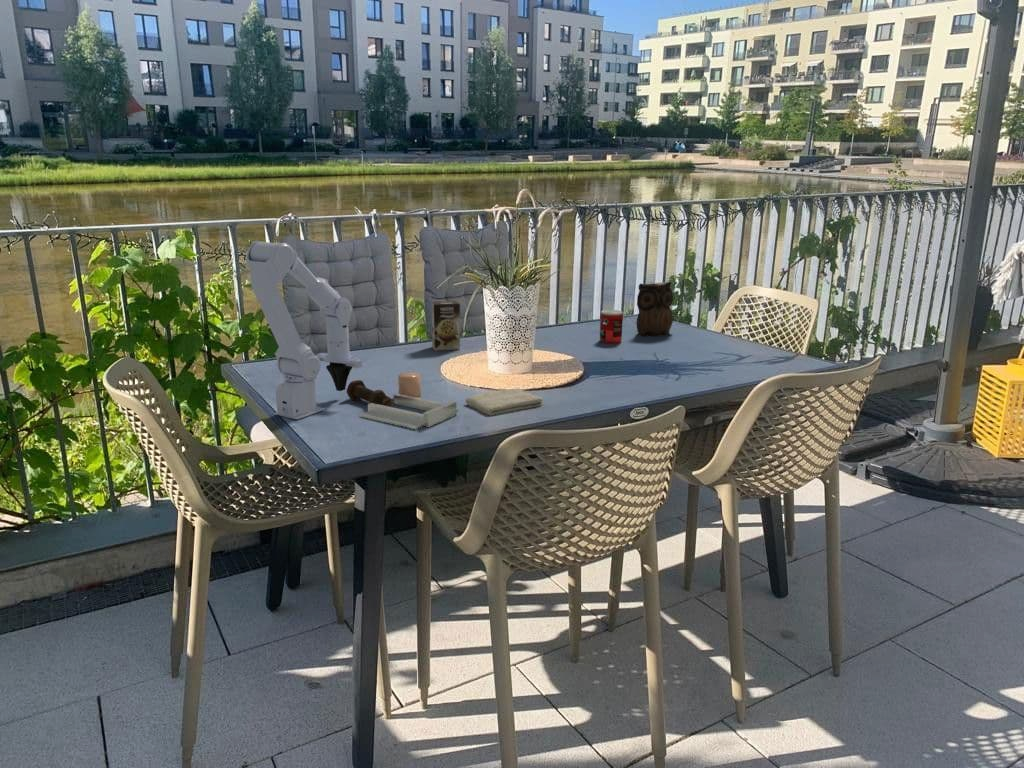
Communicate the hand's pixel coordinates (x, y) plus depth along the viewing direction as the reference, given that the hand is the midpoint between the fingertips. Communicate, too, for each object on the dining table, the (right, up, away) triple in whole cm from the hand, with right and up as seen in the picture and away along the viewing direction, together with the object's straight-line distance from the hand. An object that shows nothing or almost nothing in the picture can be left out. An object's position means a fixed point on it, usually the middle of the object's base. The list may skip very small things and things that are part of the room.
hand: (340, 390), depth 204 cm
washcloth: (+45, -5, -3) cm, 45 cm away
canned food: (+82, +17, +70) cm, 110 cm away
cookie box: (+24, +14, +58) cm, 64 cm away
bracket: (+20, -6, -12) cm, 24 cm away
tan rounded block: (+18, -2, +3) cm, 19 cm away
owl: (+100, +21, +85) cm, 133 cm away
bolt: (+9, -4, -4) cm, 10 cm away
